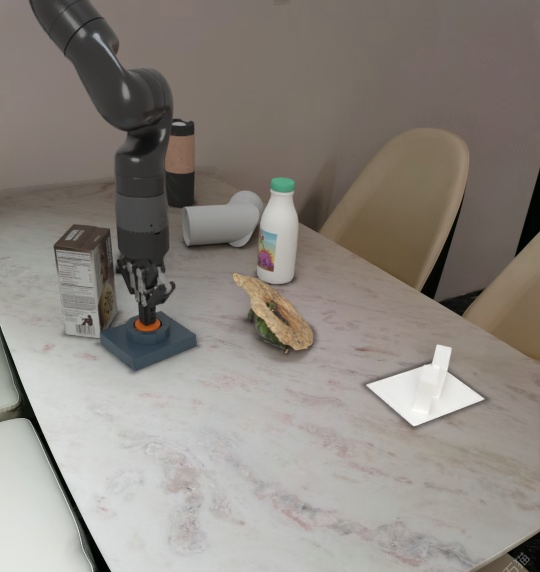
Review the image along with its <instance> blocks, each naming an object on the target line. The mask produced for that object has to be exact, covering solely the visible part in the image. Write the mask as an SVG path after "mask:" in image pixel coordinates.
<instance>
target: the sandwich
mask: <svg viewBox="0 0 540 572" xmlns="http://www.w3.org/2000/svg"><path fill="white" fill-rule="evenodd" d="M232 278H233V281H234V282H235V283H236V286H237V287H239V288H241V289H243V290H244V291H245V293H247V295H248V297H249V298H250V300H249V303H250V309H249V311H248V313H247V319H248V321H249V322H252V320H253V318H254V320H253V321H254V322H253V323H254V328H255V331H256V334H257V335H258V336H259V337H260V338H261V339H262V340H263V341H264V342H265V343H266V344H270V345H272V346H274V347H277V348H280V349H282V350H284V352H283V354H284V355H286V354H287V353H288V352H289V351H290V350H289V348H287V346H290V347H291V348H293V350H294V351H300V350H308V349H309V347H310V346H312V345H313V342H314V333H313V329H312V328H311V327H310V325H309V324H308V322H307V321H306V320H305V319H304V318H303V316H302V315H301V314H300V313H299V312H298V310H297V309H296V308H295V306H294V304H292V302H290V301H288V299H286V298H285V297H284V296H283V294H281V293H280V292H278V291H277V290H276V289H275V288H274V287H272V286H271V285H270V284H269V283H267V282H264V281H262V280H260V279H259V278H258V277H254V276H249V275H242V274H240V273H237V272H234V273H233V275H232ZM286 345H287V346H286Z"/></svg>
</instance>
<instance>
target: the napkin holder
mask: <svg viewBox="0 0 540 572" xmlns="http://www.w3.org/2000/svg"><path fill="white" fill-rule="evenodd" d="M452 351H453V348H452V347H451V346H446V345H443V344H442V345H441V344H436V347H435V350H434V354H433V356H432V357H433V358H432V362H431V363H429V364H423V365H422V366H419V367H417V368H413V369H410V370H407V371H404V372H401V373H398V374H395V375H391V376H389V377H386V378H382V379H380V380H377V381H373V382H370V383H368V384H365V386H366V387H367V388H368V389H370V390H371V391H372V392H373V393H374V394H375V395H376V396H378V397H379V398H380V399H381V400H382V401H383V402H384V403H386V404H387V405H388V406H389V407H390V408H392V410H394V411H395V412H396V413H397V414H398V415H399V416H401V417H402V418H403V419H404V420H406V421H407V422H408V424H410V425H411V426H413V427H416V426H419V425H421V424H424V423H427V422H430V421H432V420H435V419H437V418H439V417H443V416H446V415H448V414H450V413H453V412H456V411H458V410H461V409H463V408H466V407H468V406H471V405H474V404H477V403H479V402H481V401H484V400H485V398H484V397H483V396H481V395H480V394H479V393H477V392H476V391H475V390H473V389H472V388H470V387H469V386H468V385H466V384H465V383H464V382H462V380H459V379H458V378H457V377H456V376H454V375H453V374H451V373H450V372H448V370H449V365H450V359H451V355H452Z"/></svg>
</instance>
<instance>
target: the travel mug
mask: <svg viewBox="0 0 540 572" xmlns="http://www.w3.org/2000/svg"><path fill="white" fill-rule="evenodd" d="M195 141H196V140H195V122H194V121H193V120H189V121H184V120H183V119H182V118H173V120H172V126H171V132H170V138H169V144H168V148H167V152H166V157H165V172H166V194H167V200H168V206H171V207H175V208H183V207H191V206H194V202H195V179H196V177H195V176H196V149H195V147H196V145H195V143H196V142H195Z"/></svg>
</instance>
